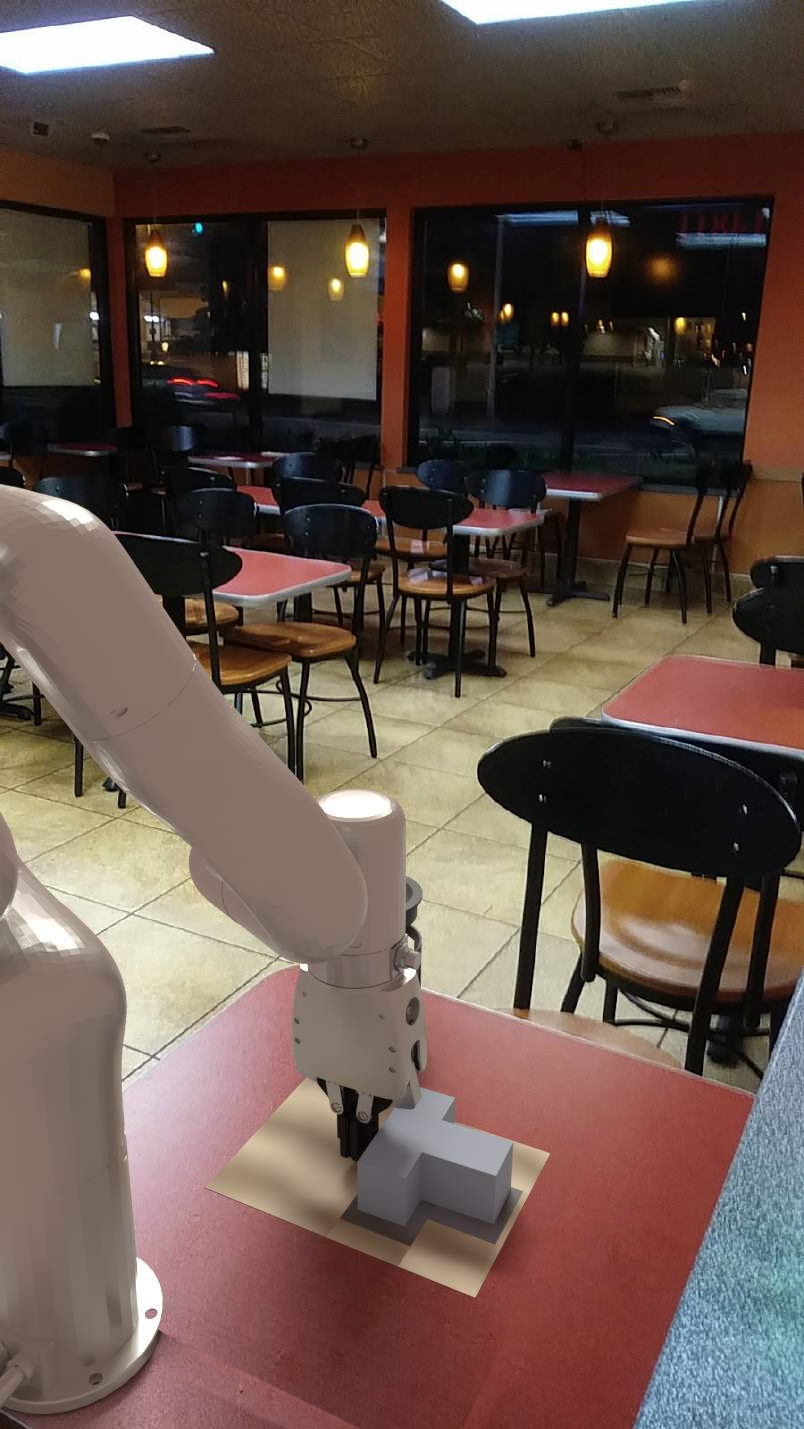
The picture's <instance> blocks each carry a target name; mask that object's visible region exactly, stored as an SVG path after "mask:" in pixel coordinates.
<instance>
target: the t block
mask: <svg viewBox="0 0 804 1429" xmlns="http://www.w3.org/2000/svg"><path fill="white" fill-rule="evenodd" d="M419 1087H420V1086H419ZM420 1091H421V1095H422V1098H421V1100H420V1101H419V1103H418V1104H417V1105H416V1107H415V1108H414V1109H400V1108H394V1109H393V1111H392V1112H391V1114H390V1115H389V1117H388V1118H387V1120H386V1121H385V1123H384V1124H383V1125H382V1127H381V1128H380V1130H379V1131H378V1133H377V1134H376V1136H375V1137H374V1138H373V1140H372V1141H371V1143H370V1144H369V1146H368V1147H367V1149H366V1150H365V1152H364V1153H363V1154H362V1156H361V1157H360V1159H359V1160H358V1162H357V1184H358V1210H360V1211H363V1212H365V1213H368V1214H371V1215H374V1216H377V1217H380V1218H382V1219H385V1220H388V1221H391V1222H394V1223H397V1224H399V1225H402V1226H406V1224H407V1223H408V1221H409V1219H410V1217H411V1216H412V1214H413V1212H414V1211H415V1209H416V1207H417V1205H418V1204H419V1202H420V1200H424V1201H427V1202H430V1203H433V1204H435V1205H438V1206H441V1207H444V1208H447V1209H450V1210H453V1211H456V1212H459V1213H462V1214H465V1215H468V1216H471V1217H474V1218H477V1219H480V1220H483V1221H485V1222H488V1223H491V1224H494V1223H495V1221H496V1219H497V1217H498V1215H499V1213H500V1211H501V1209H502V1206H503V1204H504V1202H505V1200H506V1198H507V1196H508V1194H509V1192H510V1190H511V1177H512V1158H513V1142H512V1141H513V1140H512V1141H508V1140H505V1139H502V1138H499V1137H495V1136H492V1135H489V1134H486V1133H482V1132H479V1131H476V1130H473V1129H469V1128H466V1127H463V1126H459V1125H456V1124H455V1122H456V1120H455V1119H456V1097H454V1096H452V1095H447V1094H444V1093H442V1092H438V1091H434V1090H431V1089H428V1088H424V1087H420Z"/></svg>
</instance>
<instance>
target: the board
mask: <svg viewBox="0 0 804 1429" xmlns="http://www.w3.org/2000/svg"><path fill="white" fill-rule="evenodd" d="M359 1093H360V1091H359V1092H358V1094H359ZM393 1109H394V1107H392V1106H390V1107H389V1108H387V1109H386V1110H384V1111H382V1112H381V1113H379V1130H380V1128H381V1127H382V1125H383V1124H384V1123H385V1121H386V1120H387V1118H388V1117H389V1115H390V1114H391V1112H392V1111H393ZM455 1124H456V1125H459V1126H463V1127H466V1128H469V1129H473V1130H476V1131H479V1132H482V1133H486V1134H489V1135H492V1136H495V1137H499V1138H502V1139H505V1140H508V1141H512V1142H513V1158H512V1177H511V1190H510V1192H509V1194H508V1196H507V1198H506V1200H505V1202H504V1204H503V1206H502V1209H501V1211H500V1213H499V1215H498V1217H497V1219H496V1221H495V1223H494V1224H491V1223H488V1222H485V1221H483V1220H480V1219H477V1218H474V1217H471V1216H468V1215H465V1214H462V1213H459V1212H456V1211H453V1210H450V1209H447V1208H444V1207H441V1206H438V1205H435V1204H433V1203H430V1202H427V1201H424V1200H420V1202H419V1204H418V1205H417V1207H416V1209H415V1211H414V1212H413V1214H412V1216H411V1217H410V1219H409V1221H408V1223H407V1224H406V1226H402V1225H399V1224H397V1223H394V1222H391V1221H388V1220H385V1219H382V1218H380V1217H377V1216H374V1215H371V1214H368V1213H365V1212H363V1211H360V1210H358V1184H357V1162H355V1161H353V1160H352V1158H351V1157H348V1158H344V1157H341V1156H340V1139H339V1138H338V1137H337V1114H336V1113H334V1112H333V1111H332V1110H331V1108H330V1103H329V1098H328V1097H327V1095H326V1094H325V1093H324V1091H323V1090H322V1089H321V1088H320V1086H319V1085H318V1084H317V1081H316V1082H314V1081H312V1080H311V1079H309V1078H307V1077H305V1078H304V1079H303V1080H302V1082H301V1083H300V1084H298V1086H297V1087H296V1088H295V1089H294V1090H293V1091H292V1092H291V1093H290V1095H288V1097H287V1098H286V1099H285V1100H284V1101H283V1102H282V1103H281V1104H280V1105H279V1106H278V1107H277V1109H275V1111H274V1112H273V1113H272V1114H271V1115H270V1116H269V1117H268V1118H267V1119H266V1121H265V1122H264V1123H262V1125H261V1126H260V1127H259V1128H258V1130H257V1131H255V1133H253V1135H252V1136H251V1137H250V1138H249V1139H248V1140H247V1141H246V1142H245V1144H244V1145H243V1146H242V1147H241V1148H239V1150H238V1151H237V1152H236V1154H234V1155H233V1156H232V1158H231V1159H230V1160H229V1161H227V1163H226V1164H225V1165H224V1166H223V1167H222V1169H221V1170H220V1171H219V1172H218V1173H217V1174H216V1175H214V1177H213V1178H212V1179H211V1180H210V1182H209V1183H208V1184H207V1185H206V1186H205V1187H204V1188H205V1189H206V1190H209V1191H211V1192H215V1193H216V1194H219V1195H221V1196H223V1197H226V1198H229V1199H231V1200H234V1201H237V1202H239V1203H241V1204H244V1205H246V1206H248V1207H251V1208H252V1209H255V1210H258V1211H260V1212H263V1213H265V1214H268V1215H269V1216H272V1217H275V1218H277V1219H281V1220H283V1221H285V1222H288V1223H291V1224H292V1225H295V1226H298V1227H299V1228H302V1229H305V1230H306V1231H310V1232H312V1233H314V1234H317V1235H319V1236H321V1237H324V1238H327V1239H329V1240H332V1241H334V1242H337V1243H339V1244H341V1245H343V1246H347V1247H349V1248H352V1249H354V1250H356V1251H359V1252H361V1253H364V1254H366V1255H368V1256H371V1257H374V1258H376V1259H379V1260H381V1261H383V1262H385V1263H388V1264H391V1265H393V1266H396V1267H398V1268H400V1269H403V1270H406V1271H408V1272H411V1273H412V1274H415V1275H417V1276H420V1277H423V1278H425V1279H428V1280H430V1281H433V1282H434V1283H437V1284H439V1285H442V1286H445V1287H447V1288H450V1289H452V1290H454V1291H457V1292H460V1293H462V1294H464V1295H467V1296H468V1297H471V1298H474V1299H476V1297H477V1296H478V1293H479V1292H480V1289H481V1288H482V1286H483V1285H484V1283H485V1281H486V1278H487V1276H488V1275H489V1272H490V1270H491V1269H492V1266H493V1265H494V1263H495V1261H496V1259H497V1257H498V1255H499V1253H500V1251H501V1249H502V1247H503V1246H504V1244H505V1242H506V1240H507V1238H508V1236H509V1234H510V1233H511V1230H512V1228H513V1227H514V1224H515V1223H516V1221H517V1218H518V1216H519V1215H520V1213H521V1211H522V1210H523V1207H524V1205H525V1203H526V1202H527V1200H528V1198H529V1196H530V1194H531V1192H532V1190H533V1188H534V1187H535V1184H536V1182H537V1180H538V1179H539V1176H540V1174H541V1172H542V1171H543V1168H544V1166H545V1165H546V1163H547V1161H548V1159H549V1157H550V1155H551V1153H550V1152H547V1151H545V1150H542V1149H539V1148H535V1147H533V1146H530V1145H526V1144H524V1143H521V1142H518V1141H515V1140H512V1139H509V1138H505V1137H503V1136H500V1135H497V1134H494V1133H491V1132H488V1131H485V1130H482V1129H479V1128H476V1127H473V1126H470V1125H468V1124H464V1123H461V1122H458V1121H455Z"/></svg>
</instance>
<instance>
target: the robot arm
mask: <svg viewBox="0 0 804 1429" xmlns="http://www.w3.org/2000/svg"><path fill="white" fill-rule="evenodd" d="M0 643H1V645H3V647H4V648H5V649H6V650H7V652H8V653H9V654H10V656H11V657H12V658H13V659H14V661H15V662H16V663H17V664H18V665H19V667H20V668H21V669H22V671H23V672H24V673H25V674H26V676H27V677H28V678H29V679H30V681H31V683H33V684H34V685H35V686H36V687H37V688H38V690H39V691H40V693H41V694H42V695H43V696H44V697H45V699H46V700H47V701H48V702H49V704H50V705H51V706H52V707H53V709H54V710H55V712H57V714H58V715H59V716H60V717H61V719H62V720H63V721H64V723H65V724H66V725H67V726H68V727H69V729H70V730H71V731H72V733H73V735H74V736H75V737H76V739H78V741H79V742H80V744H81V745H82V746H83V747H84V748H85V750H86V751H87V752H88V753H89V755H90V756H91V757H92V759H93V760H94V761H95V763H96V764H97V765H98V767H99V768H100V769H101V770H102V771H103V772H104V773H105V774H106V775H107V776H108V778H110V779H111V780H112V781H113V782H114V783H115V784H116V785H117V786H118V787H120V789H121V790H122V791H123V793H125V794H126V795H127V796H128V797H129V798H130V799H131V800H133V801H134V802H135V803H137V805H138V806H140V807H141V808H142V809H143V810H144V811H147V813H149V814H150V815H151V816H152V817H154V818H155V819H157V820H158V821H159V822H160V823H162V824H163V825H164V826H166V827H167V828H169V830H171V831H172V832H173V833H174V834H176V835H177V836H178V837H179V838H181V839H182V840H183V841H184V842H185V843H186V844H187V845H188V846H189V847H190V850H189V856H188V869H189V870H188V871H189V874H190V878H191V880H192V883H193V884H194V886H195V889H197V891H198V892H199V893H200V895H202V896H203V897H204V899H205V900H206V901H208V902H209V903H210V904H211V905H213V907H215V908H216V909H218V910H219V911H220V912H222V913H223V914H224V915H225V916H226V917H228V918H229V919H231V920H232V921H233V922H234V923H235V924H237V925H240V926H241V927H242V928H243V929H245V930H246V931H248V932H249V934H251V935H252V936H254V937H255V938H256V939H258V941H260V942H262V943H263V944H264V945H265V946H266V947H267V948H269V949H270V950H271V951H273V952H274V953H275V954H277V955H278V956H279V957H281V958H283V959H285V960H287V961H289V962H293V963H296V964H299V970H298V973H297V976H296V977H297V978H296V984H295V989H294V997H293V1003H292V1004H293V1005H292V1016H291V1017H292V1018H291V1049H292V1050H291V1051H292V1057H293V1061H294V1063H295V1069H296V1072H297V1073H299V1074H301V1076H304V1077H305V1078H306V1077H307V1078H309V1079H311V1080H312V1081H314V1082H316V1081H317V1084H318V1085H319V1086H320V1088H321V1089H322V1090H323V1091H324V1093H325V1094H326V1095H327V1097H328V1098H329V1103H330V1108H331V1110H332V1111H333V1112H334V1113H336V1114H337V1137H338V1138H339V1139H340V1156H341V1157H344V1158H348V1157H351V1158H352V1160H353V1161H355V1162H358V1160H359V1159H360V1157H361V1156H362V1154H363V1153H364V1152H365V1150H366V1149H367V1147H368V1146H369V1144H370V1143H371V1141H372V1140H373V1138H374V1137H375V1136H376V1134H377V1133H378V1131H379V1113H381V1112H382V1111H384V1110H386V1109H387V1108H389V1107H390V1106H392V1107H394V1108H400V1109H414V1108H415V1107H416V1105H417V1104H418V1103H419V1101H420V1100H421V1098H422V1095H421V1091H420V1084H419V1083H420V1082H419V1078H418V1075H417V1073H419V1074H423V1072H424V1071H425V1069H426V1067H427V1064H428V1063H427V1060H428V1045H427V1044H428V1042H427V1040H428V1039H427V1028H426V1027H427V1026H426V1025H427V1024H426V1016H425V1006H424V1001H423V994H422V988H420V984H419V980H418V976H417V972H416V970H417V969H418V968H419V966H420V963H421V964H422V954H421V953H420V952H416V951H414V949H413V948H410V947H409V936H408V934H406V933H405V931H406V929H405V925H406V876H407V823H406V822H407V820H406V814H405V812H404V809H403V807H402V806H401V804H400V803H399V802H398V801H397V799H394V798H393V797H392V796H390V795H388V794H386V793H385V792H380V791H377V790H372V789H364V788H345V789H339V790H334V791H330V792H327V793H325V794H323V795H320V796H318V797H317V798H315V797H314V796H313V795H312V794H311V792H310V791H309V790H308V789H307V787H306V786H305V785H304V784H303V783H302V781H300V780H299V778H298V777H297V776H296V775H295V774H294V773H293V772H292V770H291V769H289V767H288V766H287V765H286V764H285V763H284V762H283V760H282V759H281V758H280V756H279V757H278V755H277V754H276V753H275V752H274V751H273V750H272V749H271V747H270V746H269V745H268V744H267V743H266V742H265V740H264V739H263V738H262V737H261V736H260V735H259V733H258V732H257V731H256V730H255V728H254V727H253V726H252V725H251V724H250V723H249V722H248V720H247V719H246V718H245V717H244V716H243V715H242V714H241V713H240V711H238V709H237V708H235V706H233V704H232V703H231V702H230V701H229V700H228V699H227V698H226V697H225V695H224V694H223V693H222V692H221V690H220V689H219V688H218V686H216V684H215V683H214V681H213V680H212V678H211V677H210V675H209V674H208V673H207V671H206V670H205V668H204V667H203V665H202V664H201V662H200V661H199V659H198V658H197V656H196V654H195V653H194V651H193V650H192V649H191V647H190V646H189V644H188V643H187V641H186V640H185V638H184V636H183V634H182V633H181V632H180V630H179V629H178V627H177V626H176V625H175V623H174V621H173V620H172V618H171V617H170V615H169V614H168V612H167V611H166V609H165V608H164V607H163V605H162V603H161V602H160V601H159V598H158V597H157V596H156V594H155V592H154V591H153V590H152V588H151V586H150V585H149V583H148V582H147V581H146V579H145V577H144V576H143V574H142V573H141V572H140V570H139V568H138V567H137V565H136V564H135V562H134V561H133V559H132V558H131V556H130V555H129V553H128V552H127V551H126V549H125V548H124V546H123V545H122V543H121V542H120V540H119V539H118V538H117V536H116V535H115V534H114V532H113V531H112V530H111V529H110V528H109V527H108V526H107V525H106V524H105V523H104V522H103V521H102V520H101V519H100V518H99V517H98V516H96V515H95V514H94V513H92V512H91V511H90V510H89V509H86V508H84V507H83V506H82V505H81V506H80V505H79V504H77V503H74V502H72V501H69V500H67V499H63V498H60V497H55V496H53V495H52V496H51V495H48V494H44V493H39V492H37V491H36V492H35V491H31V490H29V489H25V488H21V487H17V486H12V485H11V486H10V485H5V484H0ZM107 948H108V947H106V945H104V943H103V942H102V940H101V939H100V938H99V937H98V936H97V935H96V933H94V931H93V930H91V928H90V927H89V926H88V925H86V923H84V921H82V920H81V919H80V917H78V916H77V915H76V914H75V913H74V912H73V911H72V910H71V909H70V908H69V907H67V905H65V904H64V903H62V901H60V900H59V899H58V898H57V897H56V896H55V895H53V893H52V892H50V890H48V889H47V887H46V886H45V885H44V884H43V883H42V882H41V881H40V880H39V879H38V878H37V877H36V875H35V874H34V873H33V872H32V871H31V870H30V869H29V868H28V866H27V865H26V863H25V862H24V861H23V860H22V858H21V857H20V856H19V855H18V852H17V847H16V844H15V839H14V837H13V834H12V831H11V829H10V827H9V825H8V824H7V821H6V819H5V818H4V815H3V814H2V812H1V811H0V1409H1V1408H2V1407H5V1408H7V1409H10V1410H12V1411H17V1412H21V1413H24V1414H31V1415H32V1414H34V1415H35V1414H37V1415H38V1414H40V1415H52V1414H59V1413H65V1412H70V1411H72V1410H76V1409H81V1408H82V1407H86V1406H88V1405H91V1404H93V1403H95V1402H98V1401H99V1400H101V1399H103V1398H106V1397H107V1396H109V1395H110V1394H113V1392H115V1391H117V1390H118V1389H119V1388H121V1387H122V1386H124V1385H125V1384H126V1383H127V1382H128V1381H129V1380H130V1379H131V1378H133V1376H135V1375H136V1374H137V1373H139V1371H140V1370H141V1368H142V1367H143V1366H144V1365H145V1364H146V1362H147V1361H148V1360H149V1358H150V1357H151V1356H152V1354H153V1351H154V1350H155V1348H156V1346H157V1345H158V1343H159V1340H160V1339H161V1338H160V1337H161V1334H162V1331H161V1330H160V1329H159V1327H160V1323H161V1321H162V1320H161V1319H162V1315H163V1310H164V1296H163V1293H162V1292H163V1291H162V1288H161V1284H160V1281H159V1280H158V1278H157V1276H156V1274H155V1272H154V1270H152V1268H150V1266H149V1265H148V1264H147V1263H146V1262H145V1261H143V1260H142V1259H140V1258H139V1257H138V1256H137V1244H136V1235H135V1224H134V1223H135V1222H134V1221H135V1220H134V1213H133V1200H132V1189H131V1176H130V1168H129V1166H130V1164H129V1155H128V1143H127V1132H126V1122H125V1111H124V1110H125V1109H124V1099H123V1098H124V1097H123V1096H124V1095H123V1080H122V1079H123V1078H122V1077H123V1076H122V1075H123V1074H122V1073H123V1072H122V1066H123V1065H122V1064H123V1063H122V1062H123V1050H124V1041H125V1034H126V1026H127V1025H126V1024H127V1017H128V1016H127V1012H128V1001H127V992H126V988H125V983H124V979H123V976H122V973H121V971H120V968H119V966H118V964H117V963H116V961H115V959H114V957H113V956H112V954H111V952H110V951H109V949H107ZM359 1091H360V1093H359V1094H358V1092H359ZM150 1310H156V1312H157V1314H156V1316H155V1317H154V1318H150V1319H148V1318H147V1317H146V1315H145V1314H146V1313H147V1311H150Z"/></svg>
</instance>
